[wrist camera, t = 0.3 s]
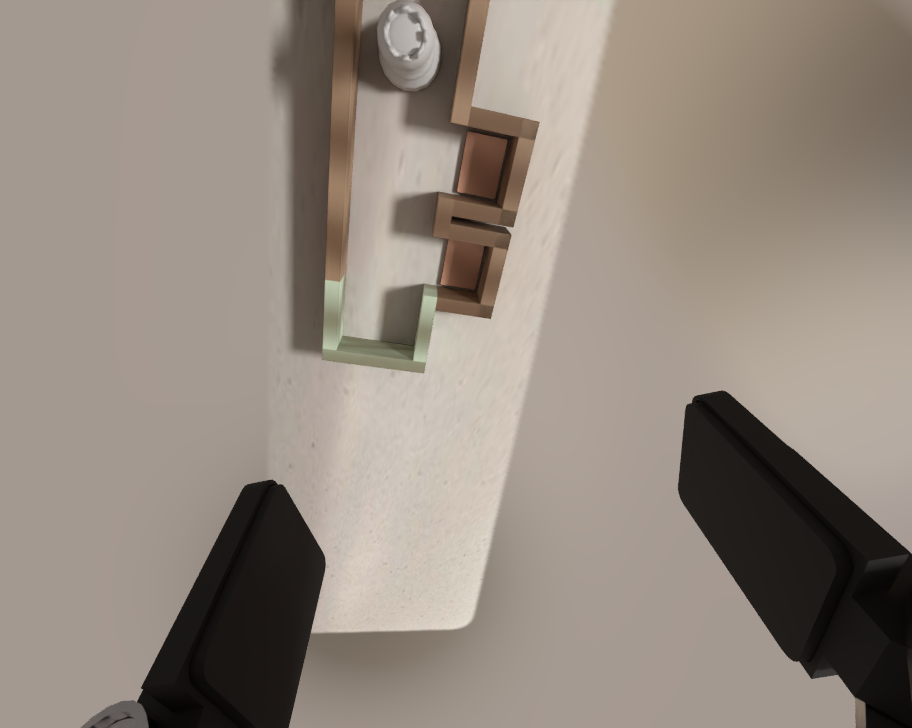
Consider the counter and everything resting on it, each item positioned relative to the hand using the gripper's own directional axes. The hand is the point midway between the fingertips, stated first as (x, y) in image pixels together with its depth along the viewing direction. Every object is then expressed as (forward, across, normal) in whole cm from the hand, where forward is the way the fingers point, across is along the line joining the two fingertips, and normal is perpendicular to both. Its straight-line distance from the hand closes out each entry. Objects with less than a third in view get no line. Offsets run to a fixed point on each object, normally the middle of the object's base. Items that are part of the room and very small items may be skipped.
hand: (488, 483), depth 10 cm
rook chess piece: (+30, 0, -12) cm, 32 cm away
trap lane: (+30, +1, -2) cm, 30 cm away
